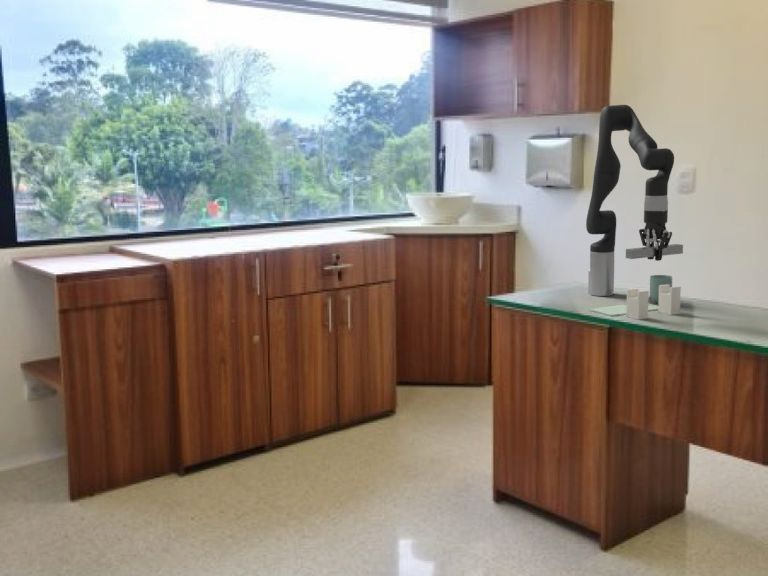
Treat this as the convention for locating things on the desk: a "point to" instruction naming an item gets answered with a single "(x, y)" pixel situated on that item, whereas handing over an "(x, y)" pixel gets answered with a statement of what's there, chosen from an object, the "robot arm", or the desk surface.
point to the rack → (639, 302)
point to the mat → (618, 309)
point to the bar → (653, 251)
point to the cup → (654, 285)
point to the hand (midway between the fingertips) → (654, 259)
